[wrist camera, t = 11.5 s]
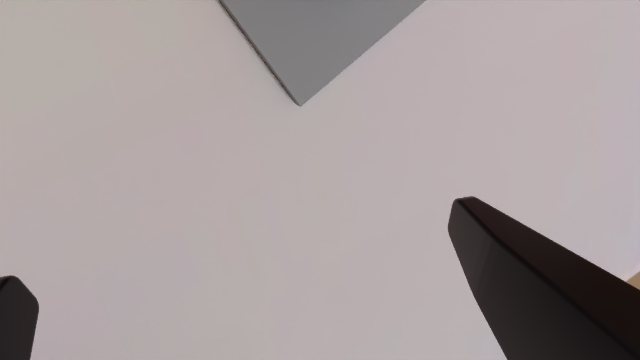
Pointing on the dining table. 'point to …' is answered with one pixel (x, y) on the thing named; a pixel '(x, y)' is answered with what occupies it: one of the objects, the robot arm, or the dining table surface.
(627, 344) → the robot arm
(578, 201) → the dining table surface
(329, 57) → the coaster
